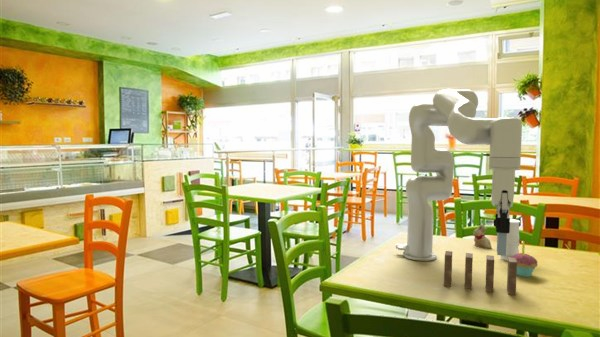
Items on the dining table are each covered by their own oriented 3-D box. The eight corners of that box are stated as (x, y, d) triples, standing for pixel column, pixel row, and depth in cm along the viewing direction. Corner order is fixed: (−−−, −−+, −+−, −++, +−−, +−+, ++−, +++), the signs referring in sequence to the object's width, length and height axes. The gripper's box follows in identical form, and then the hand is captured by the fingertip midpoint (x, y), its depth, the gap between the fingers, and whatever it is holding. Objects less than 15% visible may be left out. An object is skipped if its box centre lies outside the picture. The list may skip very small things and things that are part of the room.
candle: (512, 256, 162) (513, 218, 161) (522, 261, 155) (523, 222, 154) (495, 256, 162) (496, 218, 161) (504, 261, 155) (505, 222, 154)
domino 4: (497, 255, 110) (498, 218, 110) (496, 250, 115) (498, 215, 114) (505, 255, 109) (507, 218, 109) (504, 251, 114) (506, 215, 113)
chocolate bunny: (483, 244, 181) (484, 221, 180) (493, 248, 173) (494, 225, 172) (471, 244, 180) (472, 221, 180) (480, 248, 173) (481, 225, 172)
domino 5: (508, 294, 121) (509, 261, 121) (506, 289, 126) (508, 257, 125) (515, 295, 121) (517, 262, 120) (514, 290, 125) (515, 257, 125)
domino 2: (464, 288, 126) (465, 257, 125) (464, 283, 131) (465, 252, 130) (471, 289, 125) (472, 257, 125) (471, 284, 130) (472, 253, 129)
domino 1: (443, 286, 128) (444, 254, 128) (444, 281, 133) (445, 250, 132) (450, 287, 128) (451, 255, 127) (451, 281, 132) (452, 251, 132)
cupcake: (536, 280, 134) (538, 244, 133) (507, 275, 138) (508, 240, 138) (537, 273, 141) (539, 238, 140) (509, 269, 146) (511, 235, 145)
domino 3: (485, 291, 124) (487, 259, 123) (485, 286, 128) (486, 255, 128) (493, 292, 123) (494, 260, 122) (492, 287, 128) (493, 255, 127)
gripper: (488, 162, 120) (486, 223, 121) (490, 165, 104) (487, 236, 105) (517, 162, 117) (514, 225, 118) (523, 166, 101) (520, 238, 102)
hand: (502, 229), depth 112 cm, fingers closed on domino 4, 4 cm apart
